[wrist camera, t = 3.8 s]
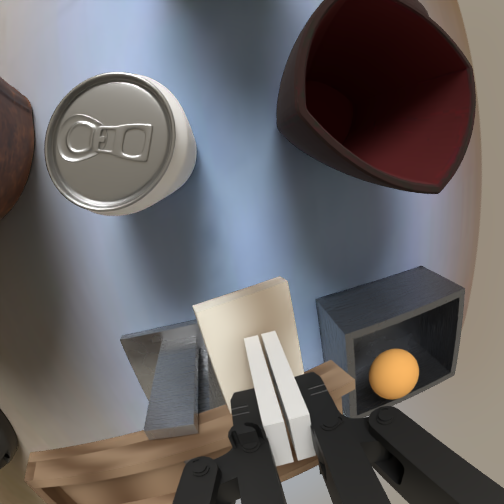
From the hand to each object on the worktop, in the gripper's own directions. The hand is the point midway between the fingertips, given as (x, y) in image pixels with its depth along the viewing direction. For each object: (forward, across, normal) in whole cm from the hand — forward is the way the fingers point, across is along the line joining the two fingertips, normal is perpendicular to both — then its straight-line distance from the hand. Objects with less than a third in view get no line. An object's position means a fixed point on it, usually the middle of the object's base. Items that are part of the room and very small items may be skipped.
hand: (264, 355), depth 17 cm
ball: (+4, +10, -7) cm, 13 cm away
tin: (+10, +11, -7) cm, 16 cm away
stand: (+10, -6, -7) cm, 13 cm away
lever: (0, -6, -3) cm, 7 cm away
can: (+10, -4, +12) cm, 16 cm away
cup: (+10, +10, +14) cm, 20 cm away
